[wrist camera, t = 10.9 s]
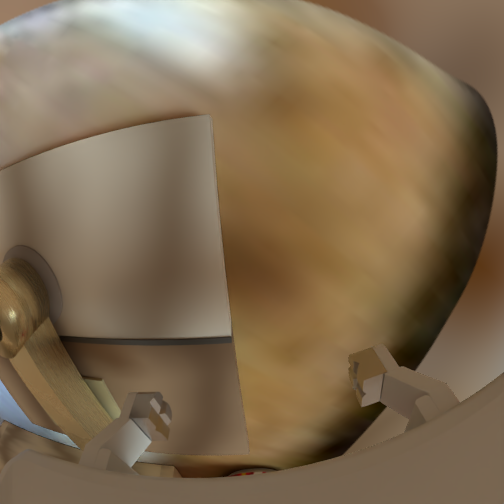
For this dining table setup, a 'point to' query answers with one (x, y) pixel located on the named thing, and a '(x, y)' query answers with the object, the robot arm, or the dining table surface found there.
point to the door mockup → (133, 275)
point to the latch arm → (44, 354)
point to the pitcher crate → (60, 451)
